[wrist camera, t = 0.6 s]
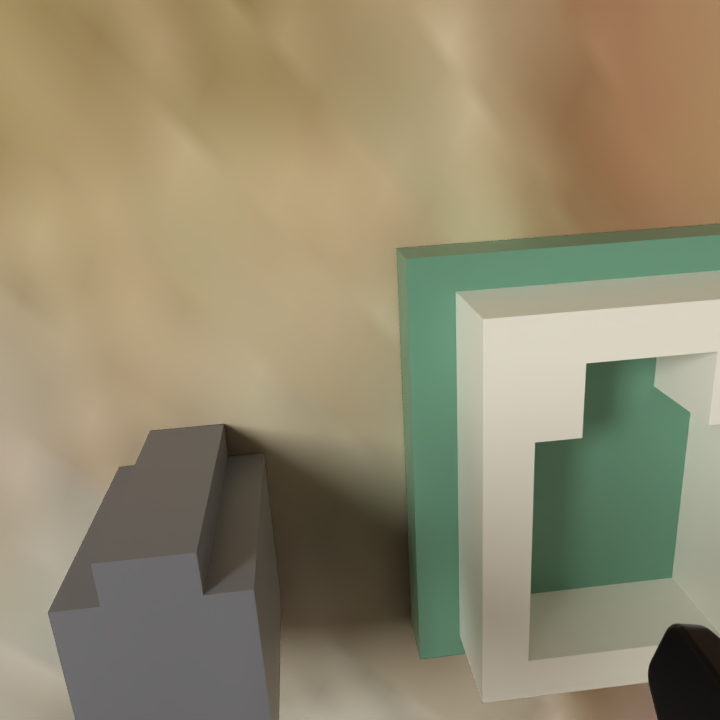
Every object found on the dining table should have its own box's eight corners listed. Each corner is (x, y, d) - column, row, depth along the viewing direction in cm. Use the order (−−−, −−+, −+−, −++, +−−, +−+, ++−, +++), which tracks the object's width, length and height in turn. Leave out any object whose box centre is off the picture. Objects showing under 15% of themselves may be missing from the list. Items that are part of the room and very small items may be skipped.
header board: (712, 589, 22) (798, 683, 19) (411, 624, 22) (437, 729, 18) (762, 220, 18) (884, 245, 15) (396, 248, 18) (425, 281, 14)
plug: (280, 599, 21) (278, 774, 15) (148, 613, 21) (95, 799, 15) (260, 420, 19) (248, 546, 13) (112, 434, 19) (36, 569, 13)
